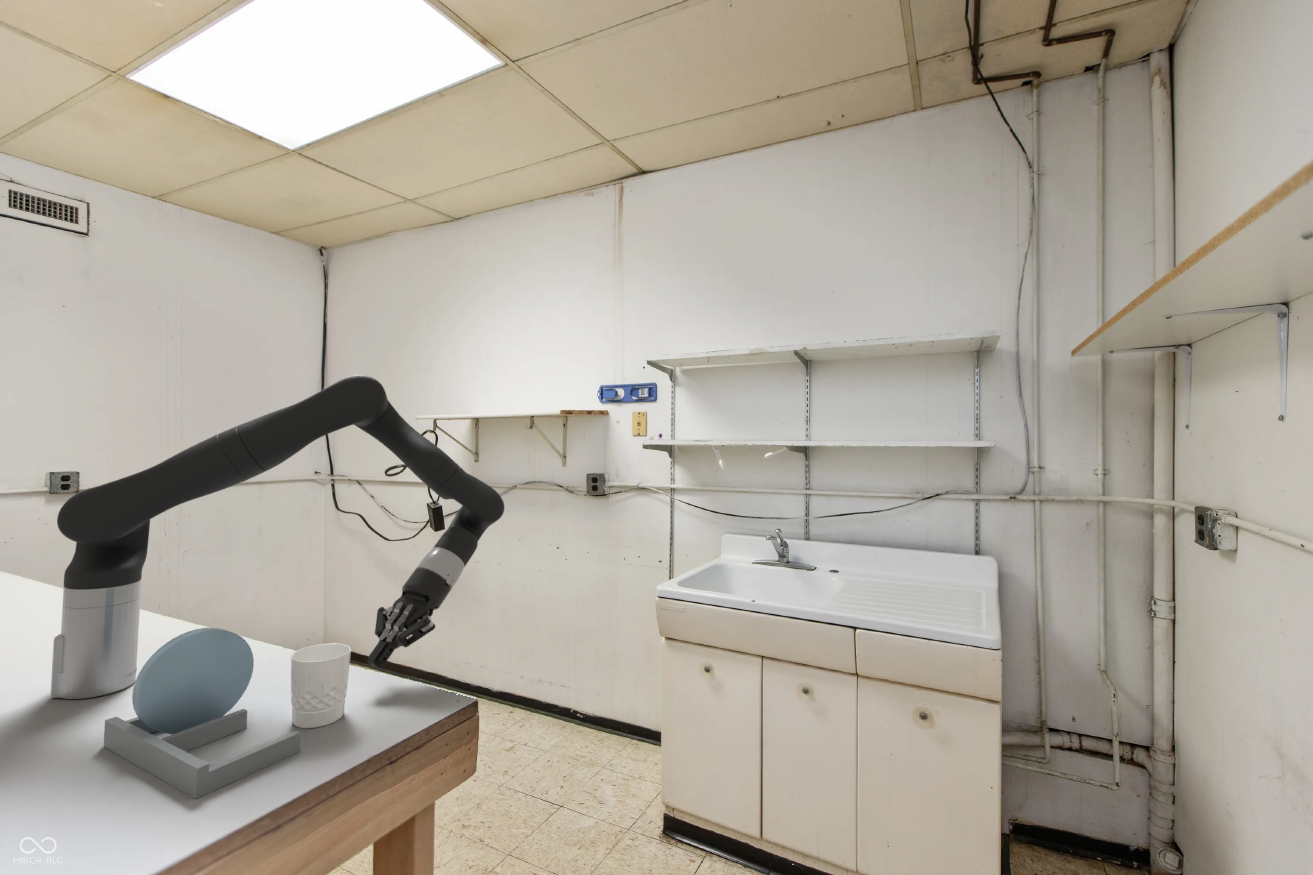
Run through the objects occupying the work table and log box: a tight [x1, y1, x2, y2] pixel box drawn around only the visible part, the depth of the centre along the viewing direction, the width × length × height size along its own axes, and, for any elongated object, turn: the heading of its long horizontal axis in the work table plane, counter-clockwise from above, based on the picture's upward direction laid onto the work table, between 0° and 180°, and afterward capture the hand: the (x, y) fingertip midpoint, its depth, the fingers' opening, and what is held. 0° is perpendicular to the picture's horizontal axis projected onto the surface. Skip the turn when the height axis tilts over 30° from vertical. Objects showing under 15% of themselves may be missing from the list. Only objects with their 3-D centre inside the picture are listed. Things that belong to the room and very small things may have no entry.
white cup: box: [290, 642, 352, 729], centre depth 86 cm, size 8×8×10 cm
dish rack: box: [103, 627, 302, 799], centre depth 78 cm, size 15×23×14 cm, turn 64°
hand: (373, 664), depth 95 cm, fingers closed
